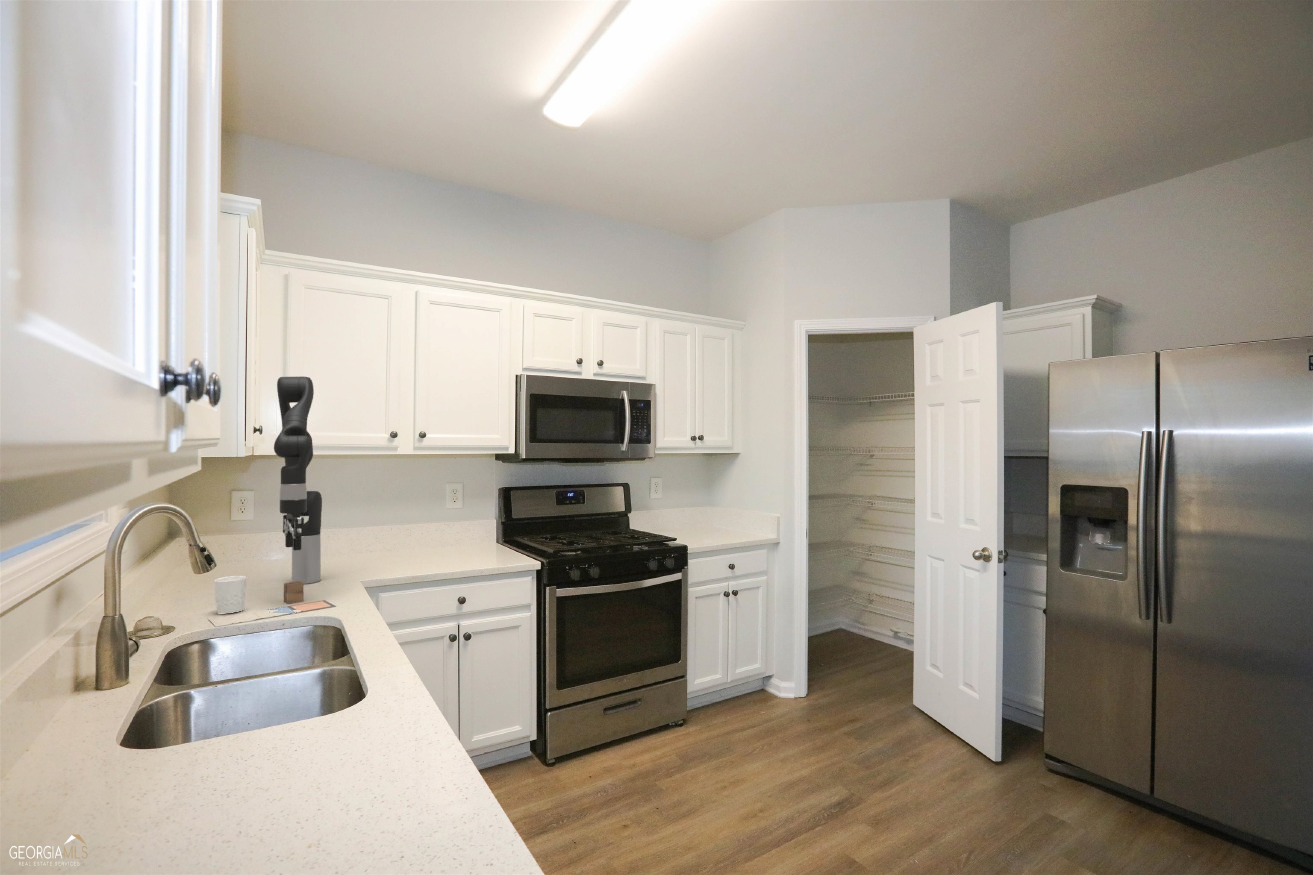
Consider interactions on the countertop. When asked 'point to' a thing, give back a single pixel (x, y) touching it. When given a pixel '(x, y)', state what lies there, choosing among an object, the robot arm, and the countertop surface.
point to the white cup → (230, 594)
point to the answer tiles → (304, 607)
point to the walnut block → (293, 592)
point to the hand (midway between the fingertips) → (293, 548)
